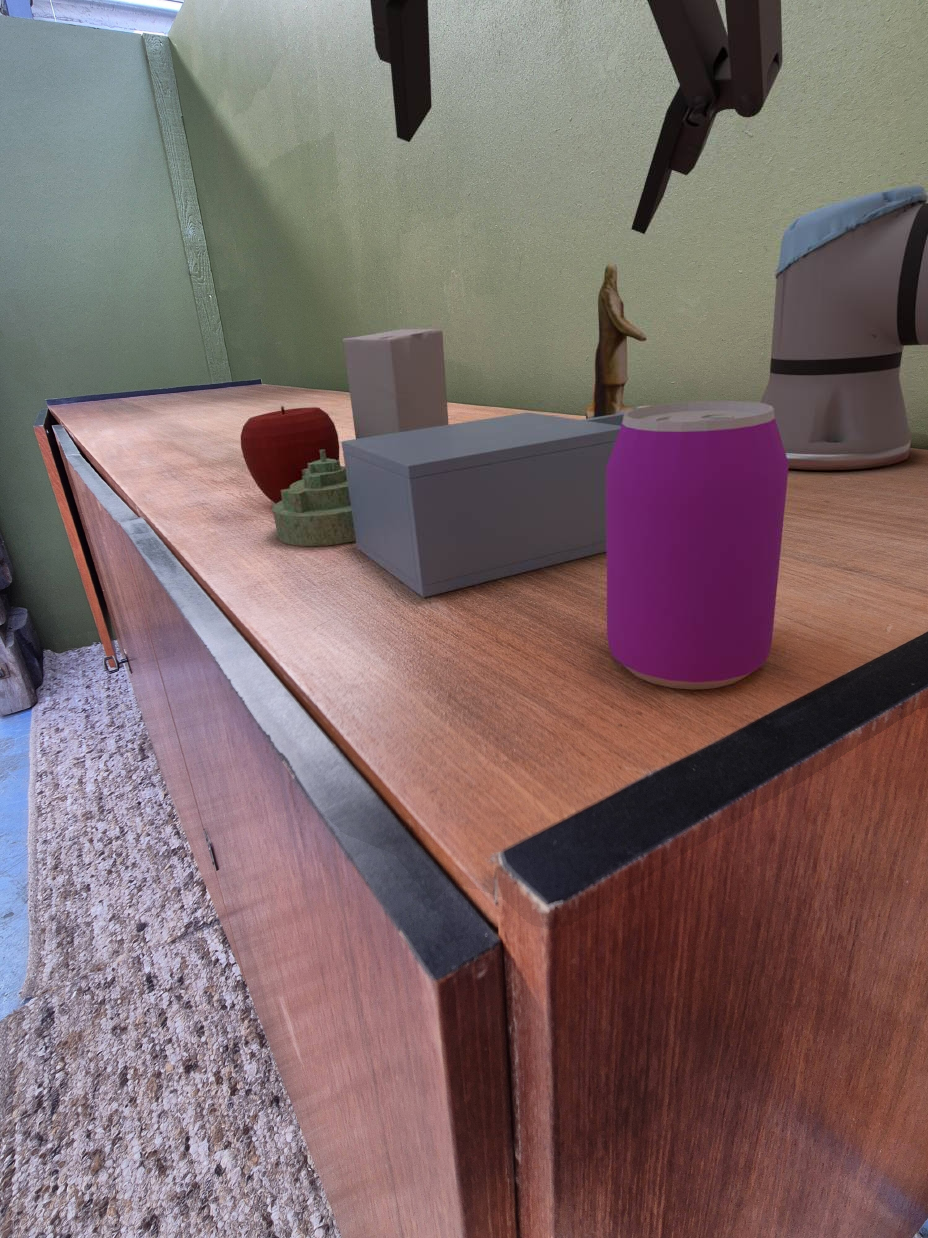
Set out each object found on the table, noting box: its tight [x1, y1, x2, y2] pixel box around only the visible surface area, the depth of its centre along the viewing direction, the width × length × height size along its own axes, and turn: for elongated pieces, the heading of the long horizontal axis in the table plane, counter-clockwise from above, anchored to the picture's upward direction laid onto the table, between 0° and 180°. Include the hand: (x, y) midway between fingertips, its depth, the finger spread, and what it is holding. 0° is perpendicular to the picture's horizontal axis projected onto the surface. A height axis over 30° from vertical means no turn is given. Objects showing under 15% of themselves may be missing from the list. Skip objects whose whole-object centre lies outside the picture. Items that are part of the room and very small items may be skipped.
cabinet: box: [340, 412, 621, 599], centre depth 53 cm, size 17×14×9 cm
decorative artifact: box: [272, 450, 356, 547], centre depth 62 cm, size 10×7×10 cm
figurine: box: [585, 262, 647, 419], centre depth 72 cm, size 5×8×20 cm, turn 73°
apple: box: [240, 405, 340, 505], centre depth 72 cm, size 10×10×10 cm
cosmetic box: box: [342, 328, 450, 439], centre depth 72 cm, size 8×7×16 cm
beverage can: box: [606, 400, 790, 691], centre depth 33 cm, size 8×8×12 cm
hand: (528, 167), depth 38 cm, fingers open, 13 cm apart
